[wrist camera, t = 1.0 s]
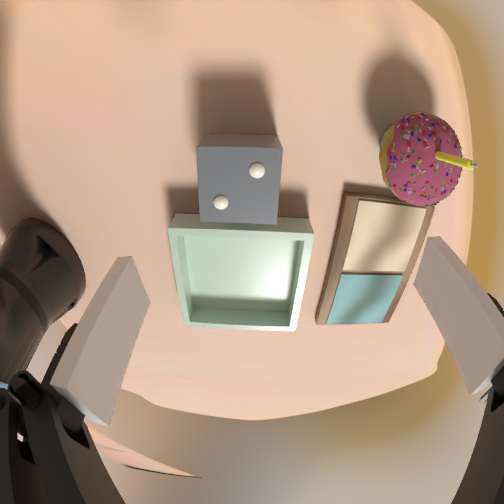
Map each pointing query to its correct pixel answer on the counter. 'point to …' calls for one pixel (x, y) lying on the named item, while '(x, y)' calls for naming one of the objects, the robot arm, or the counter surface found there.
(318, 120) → the counter surface
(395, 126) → the cupcake
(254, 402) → the counter surface
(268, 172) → the die
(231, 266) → the tray
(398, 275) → the board
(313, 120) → the counter surface
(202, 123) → the counter surface
